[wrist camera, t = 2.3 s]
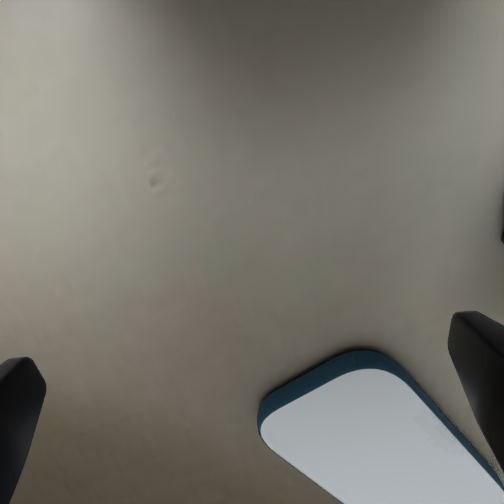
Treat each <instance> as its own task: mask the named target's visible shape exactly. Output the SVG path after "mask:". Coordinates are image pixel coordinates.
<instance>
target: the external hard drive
mask: <svg viewBox="0 0 504 504" xmlns="http://www.w3.org/2000/svg"><path fill="white" fill-rule="evenodd" d="M257 425H258V431H259V435H260V437H261V438H262V440H263V442H264V443H265V444H266V445H267V446H268V447H269V448H270V449H271V450H272V451H273V452H274V453H276V454H277V455H278V456H280V457H281V458H282V459H284V460H285V461H286V462H288V463H289V464H290V465H292V466H293V467H294V468H296V469H297V470H298V471H300V472H301V473H302V474H304V475H305V476H306V477H308V478H309V479H311V480H312V481H313V482H315V483H316V484H317V485H319V486H320V487H321V488H323V489H324V490H325V491H327V492H328V493H329V494H331V495H332V496H333V497H335V498H336V499H337V500H339V501H340V502H341V503H343V504H504V487H503V485H502V482H501V481H500V479H499V477H498V476H497V474H496V473H495V472H494V470H493V469H492V468H491V467H490V466H489V465H488V463H487V462H486V461H485V460H484V459H483V458H482V457H481V456H480V454H479V453H478V452H477V451H476V450H475V449H474V448H473V446H472V445H471V444H470V443H469V442H468V441H467V440H466V439H465V437H464V436H463V435H462V434H461V433H460V432H459V431H458V430H457V428H456V427H455V426H454V425H453V424H452V423H451V422H450V421H449V419H448V418H447V417H446V416H445V415H444V414H443V413H442V411H441V410H440V409H439V408H438V407H437V406H436V405H435V404H434V402H433V401H432V400H431V399H430V398H429V397H428V396H427V395H426V393H425V392H424V391H423V390H422V389H421V388H420V387H419V386H418V384H417V383H416V382H415V381H414V380H413V379H412V378H411V376H410V375H409V374H408V373H407V372H406V371H405V370H404V369H403V368H402V367H401V366H400V365H399V364H398V363H397V362H395V361H394V360H392V359H391V358H390V357H387V356H385V355H383V354H381V353H378V352H374V351H367V350H359V351H352V352H348V353H345V354H342V355H340V356H337V357H335V358H333V359H331V360H329V361H328V362H326V363H324V364H322V365H320V366H319V367H317V368H315V369H313V370H311V371H310V372H308V373H306V374H304V375H302V376H301V377H299V378H297V379H295V380H293V381H292V382H290V383H288V384H286V385H284V386H283V387H281V388H279V389H277V390H276V391H274V392H273V393H271V394H270V395H268V396H267V397H266V398H265V399H264V400H263V401H262V403H261V405H260V406H259V409H258V414H257Z"/></svg>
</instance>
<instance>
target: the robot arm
mask: <svg viewBox="0 0 504 504" xmlns="http://www.w3.org/2000/svg"><path fill="white" fill-rule="evenodd" d="M502 242H503V244H504V232H503V236H502ZM448 350H449V354H450V356H451V359H452V361H453V364H454V366H455V369H456V371H457V374H458V376H459V379H460V381H461V384H462V386H463V389H464V391H465V394H466V396H467V399H468V401H469V404H470V406H471V409H472V411H473V413H474V416H475V418H476V420H477V423H478V425H479V427H480V429H481V431H482V433H483V435H484V437H485V438H486V440H487V442H488V444H489V446H490V448H491V450H492V452H493V453H494V455H495V457H496V459H497V461H498V463H499V465H500V467H501V468H502V470H503V472H504V326H503V325H501V324H499V323H498V322H496V321H494V320H492V319H490V318H489V317H487V316H485V315H483V314H481V313H479V312H477V311H463V312H456V313H454V314H453V316H452V319H451V325H450V331H449V337H448ZM45 394H46V382H45V380H44V378H43V377H42V375H41V373H40V371H39V370H38V368H37V366H36V365H35V363H34V361H33V360H32V359H31V358H29V357H18V358H11V359H8V360H6V361H5V362H3V363H2V364H1V365H0V504H9V503H10V500H11V498H12V495H13V493H14V490H15V488H16V485H17V483H18V480H19V478H20V475H21V472H22V470H23V467H24V464H25V462H26V458H27V455H28V452H29V449H30V446H31V442H32V439H33V435H34V432H35V429H36V425H37V422H38V418H39V415H40V412H41V408H42V405H43V401H44V398H45Z"/></svg>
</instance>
